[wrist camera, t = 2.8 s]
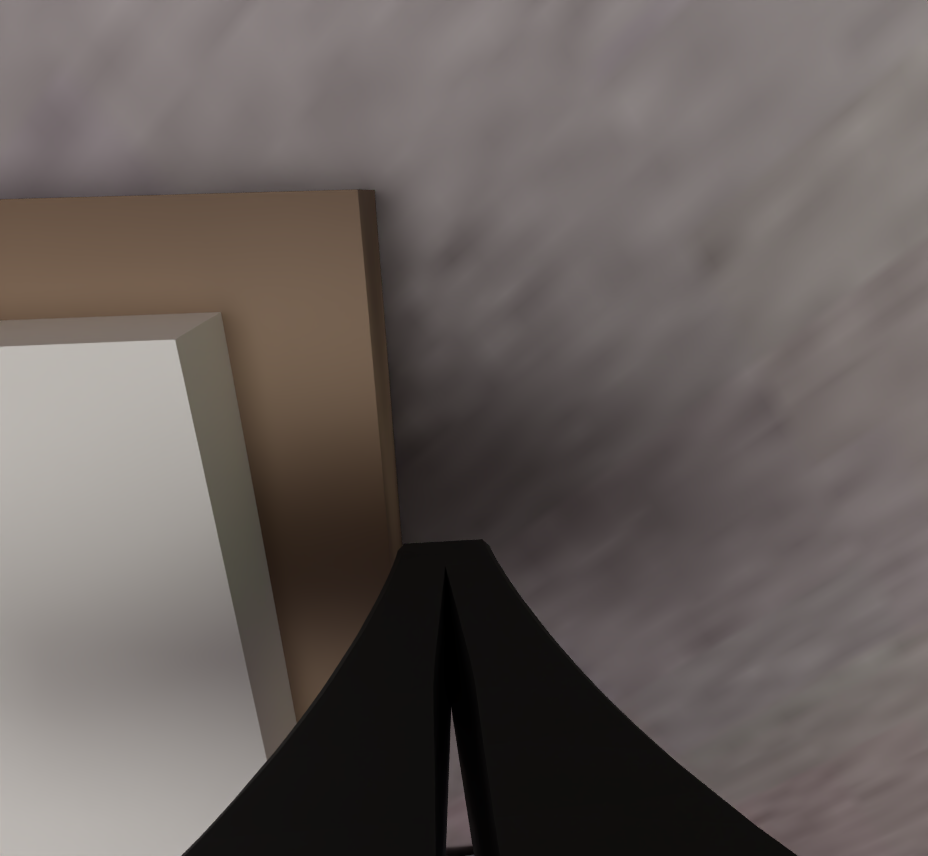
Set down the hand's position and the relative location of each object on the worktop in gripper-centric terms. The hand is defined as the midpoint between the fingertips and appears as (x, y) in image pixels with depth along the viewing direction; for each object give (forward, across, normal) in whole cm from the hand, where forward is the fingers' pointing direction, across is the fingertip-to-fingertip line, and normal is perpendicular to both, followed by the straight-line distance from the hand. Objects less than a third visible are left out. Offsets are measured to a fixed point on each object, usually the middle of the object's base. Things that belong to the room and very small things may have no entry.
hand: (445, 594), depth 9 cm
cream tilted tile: (+1, +6, 0) cm, 6 cm away
